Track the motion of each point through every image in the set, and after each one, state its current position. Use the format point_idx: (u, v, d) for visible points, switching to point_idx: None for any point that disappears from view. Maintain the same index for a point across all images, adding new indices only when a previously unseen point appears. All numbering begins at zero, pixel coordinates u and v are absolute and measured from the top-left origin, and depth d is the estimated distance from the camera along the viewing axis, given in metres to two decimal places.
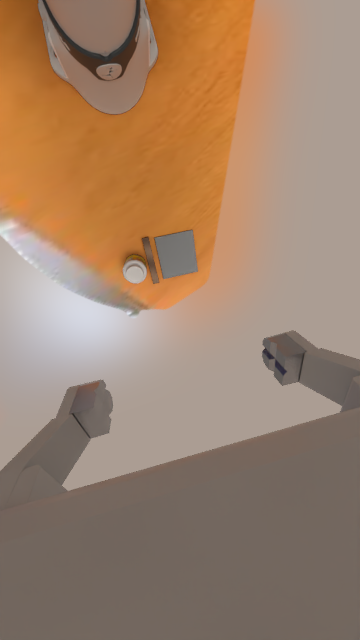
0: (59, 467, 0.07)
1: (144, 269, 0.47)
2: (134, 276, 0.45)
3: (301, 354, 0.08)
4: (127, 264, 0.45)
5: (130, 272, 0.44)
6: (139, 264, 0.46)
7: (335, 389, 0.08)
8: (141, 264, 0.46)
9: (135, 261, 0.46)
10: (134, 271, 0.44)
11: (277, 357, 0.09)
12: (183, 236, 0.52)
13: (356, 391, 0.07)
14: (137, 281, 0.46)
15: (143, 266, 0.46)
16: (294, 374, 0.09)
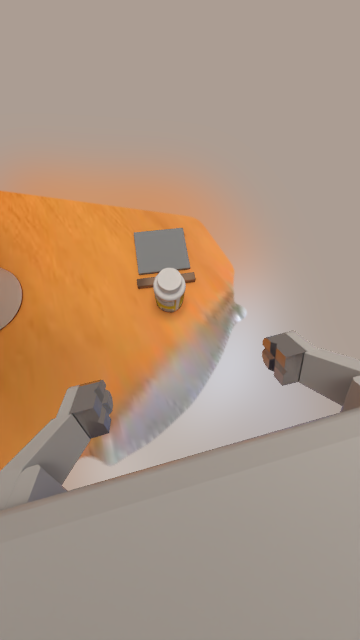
0: (59, 467, 0.07)
1: None
2: (171, 279, 0.32)
3: (301, 354, 0.08)
4: (157, 291, 0.33)
5: (164, 284, 0.31)
6: None
7: (335, 389, 0.08)
8: None
9: (154, 281, 0.34)
10: (164, 278, 0.32)
11: (277, 357, 0.09)
12: (140, 242, 0.44)
13: (356, 391, 0.07)
14: (179, 276, 0.32)
15: None
16: (294, 374, 0.09)
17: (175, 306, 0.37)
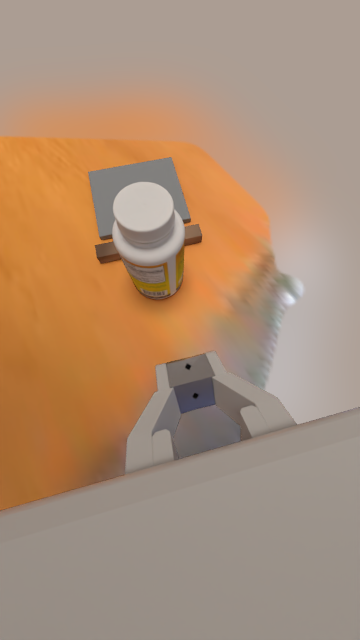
0: None
1: None
2: (148, 206, 0.13)
3: (209, 378, 0.08)
4: (121, 246, 0.14)
5: (132, 217, 0.13)
6: None
7: (240, 416, 0.08)
8: None
9: (114, 225, 0.15)
10: (130, 205, 0.13)
11: None
12: (99, 186, 0.25)
13: (243, 423, 0.06)
14: (166, 198, 0.13)
15: None
16: (208, 397, 0.09)
17: (168, 283, 0.18)
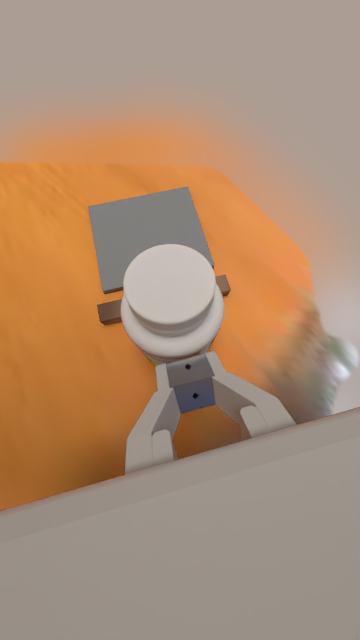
0: None
1: None
2: (177, 281, 0.08)
3: (209, 378, 0.08)
4: (134, 331, 0.10)
5: (153, 300, 0.08)
6: None
7: (239, 416, 0.08)
8: None
9: (123, 299, 0.10)
10: (150, 280, 0.08)
11: None
12: (102, 225, 0.21)
13: (242, 423, 0.06)
14: (204, 267, 0.09)
15: None
16: (208, 397, 0.09)
17: None
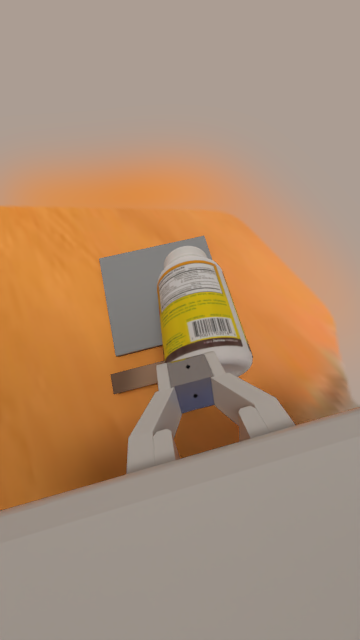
0: None
1: None
2: None
3: (208, 379, 0.08)
4: None
5: None
6: None
7: (238, 416, 0.08)
8: None
9: None
10: None
11: None
12: (114, 280, 0.20)
13: (241, 424, 0.06)
14: None
15: None
16: (207, 398, 0.09)
17: (229, 305, 0.13)
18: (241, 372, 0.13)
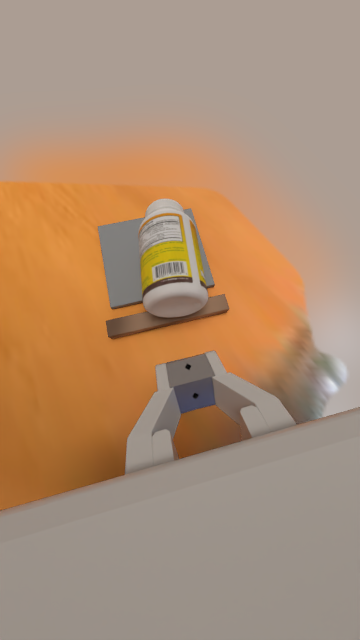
0: None
1: None
2: None
3: (209, 378, 0.08)
4: None
5: None
6: None
7: (240, 416, 0.08)
8: None
9: None
10: None
11: None
12: (110, 244, 0.22)
13: (242, 423, 0.06)
14: None
15: None
16: (208, 397, 0.09)
17: (187, 251, 0.16)
18: (200, 304, 0.17)
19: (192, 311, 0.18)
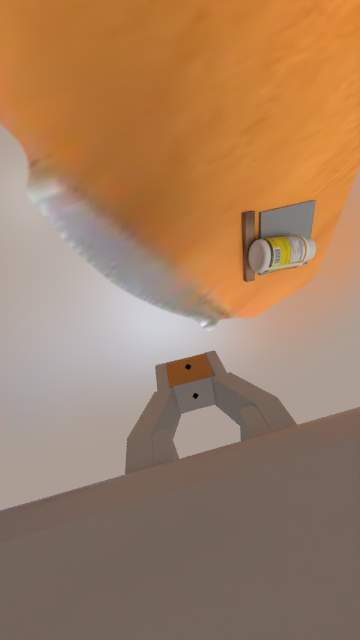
0: None
1: None
2: None
3: (209, 378, 0.08)
4: None
5: None
6: None
7: (240, 416, 0.08)
8: None
9: None
10: None
11: None
12: (300, 210, 0.35)
13: (243, 423, 0.06)
14: None
15: None
16: (208, 397, 0.09)
17: (283, 264, 0.33)
18: (255, 269, 0.35)
19: (250, 264, 0.36)
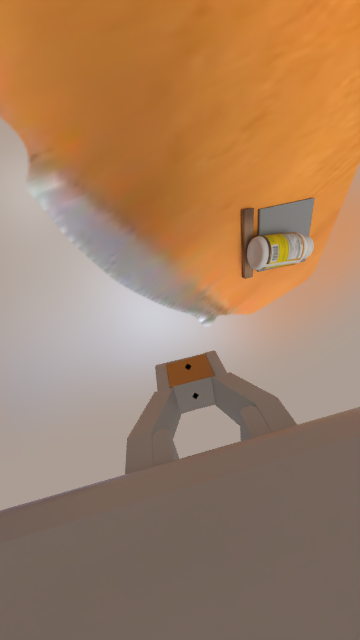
0: None
1: None
2: None
3: (209, 378, 0.08)
4: None
5: None
6: None
7: (240, 416, 0.08)
8: None
9: None
10: None
11: None
12: (299, 208, 0.35)
13: (242, 423, 0.06)
14: None
15: None
16: (208, 397, 0.09)
17: (281, 262, 0.33)
18: (253, 266, 0.35)
19: (249, 260, 0.36)
